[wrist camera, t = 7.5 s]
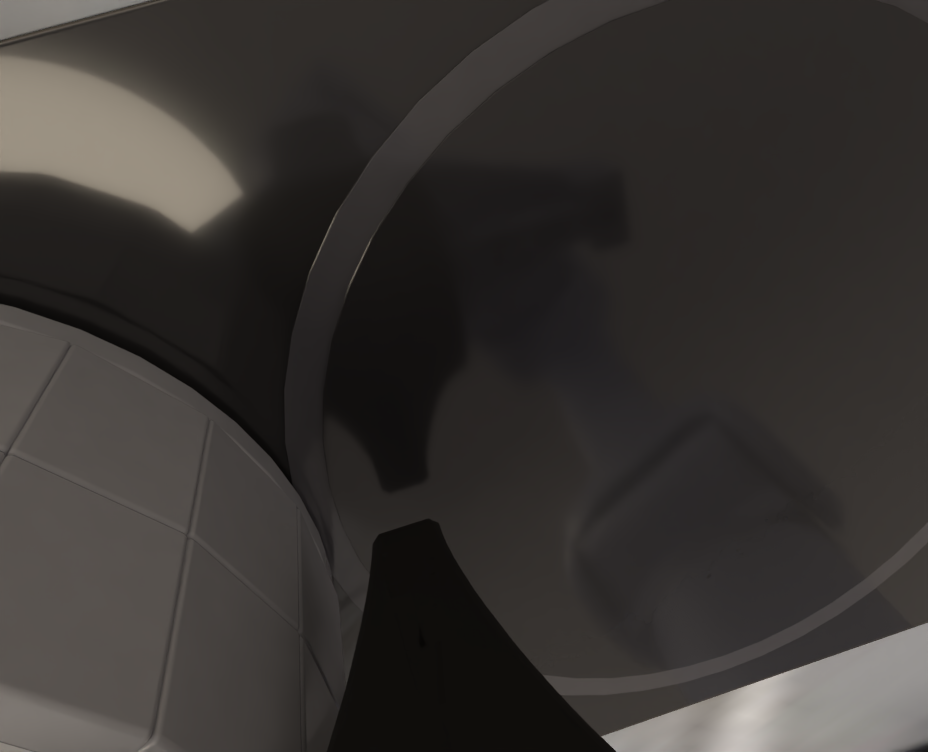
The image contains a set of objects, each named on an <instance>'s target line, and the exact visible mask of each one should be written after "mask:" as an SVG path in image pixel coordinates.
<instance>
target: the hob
mask: <svg viewBox="0 0 928 752" xmlns="http://www.w3.org/2000/svg"><path fill="white" fill-rule="evenodd" d="M0 304H4V305H8V306H12V307H16V308H19V309H22V310H25V311H28V312H31V313H34V314H37V315H40V316H43V317H46V318H49V319H52V320H55V321H57V322H60V323H63V324H66V325H69V326H72V327H75V328H78V329H81V330H83V331H85V332H88V333H90V334H92V335H94V336H96V337H98V338H101V339H103V340H105V341H107V342H109V343H111V344H114V345H116V346H118V347H120V348H122V349H124V350H127V351H129V352H131V353H133V354H135V355H137V356H140V357H141V358H143V359H145V360H146V361H148V362H150V363H151V364H153V365H155V366H156V367H158V368H160V369H161V370H163V371H165V372H166V373H168V374H170V375H171V376H173V377H175V378H176V379H178V380H180V381H181V382H183V383H185V384H186V385H188V386H190V387H191V388H193V389H194V390H195V391H196V392H198V393H199V394H200V395H202V396H203V397H204V398H205V399H207V400H208V401H209V402H211V403H212V404H213V405H214V406H216V407H217V408H218V409H220V410H221V411H222V412H223V413H225V414H226V415H227V416H229V417H230V418H231V419H232V420H234V421H235V422H236V423H237V424H238V425H239V426H240V427H241V428H242V429H243V430H244V431H245V432H246V433H247V434H248V435H249V436H250V437H251V438H252V439H253V440H254V441H255V442H256V443H257V444H258V445H259V446H260V447H261V448H262V449H263V450H264V451H265V452H266V453H267V454H268V455H269V456H270V457H271V458H272V460H273V461H274V462H275V464H276V465H277V466H278V468H279V469H280V470H281V472H282V473H283V474H284V476H285V477H286V478H287V480H288V481H289V482H290V484H291V485H292V486H293V488H294V489H295V490H296V492H297V493H298V494H299V496H300V498H301V500H302V502H303V504H304V505H305V507H306V509H307V511H308V513H309V515H310V517H311V519H312V521H313V522H314V524H315V526H316V528H317V530H318V532H319V535H320V538H321V541H322V544H323V547H324V550H325V553H326V556H327V559H328V562H329V565H330V568H331V573H332V580H333V586H334V588H335V591H336V593H337V595H338V601H339V610H340V622H341V634H342V646H343V658H344V670H345V682H346V685H347V681H348V677H349V673H350V669H351V665H352V660H353V656H354V652H355V648H356V644H357V639H358V635H359V631H360V627H361V622H362V616H363V611H364V606H365V601H366V595H367V589H368V583H369V576H370V568H371V560H372V545H373V542H374V541H375V539H376V538H377V536H378V535H379V534H381V533H384V532H387V531H390V530H393V529H396V528H400V527H403V526H406V525H409V524H412V523H415V522H418V521H422V520H425V519H428V518H429V519H431V520H433V521H436V522H438V523H439V524H440V528H441V531H442V534H443V536H444V538H445V540H446V542H447V545H448V547H449V549H450V550H451V552H452V554H453V556H454V558H455V560H456V561H457V563H458V565H459V566H460V568H461V570H462V571H463V573H464V574H465V576H466V577H467V579H468V580H469V582H470V584H471V585H472V587H473V588H474V590H475V591H476V592H477V594H478V595H479V597H480V598H481V599H482V601H483V602H484V604H485V605H486V606H487V608H488V609H489V610H490V612H491V613H492V614H493V615H494V617H495V618H496V619H497V621H498V622H499V623H500V624H501V626H502V627H503V628H504V630H505V631H506V632H507V634H508V635H509V636H510V637H511V639H512V640H513V641H514V642H515V644H516V645H517V646H518V647H519V648H520V650H521V651H522V652H523V653H524V654H525V656H526V657H527V658H528V659H529V660H530V662H531V663H532V664H533V665H534V666H535V667H536V668H537V669H538V671H539V672H540V673H541V674H542V675H543V676H544V677H545V678H546V680H547V681H548V682H549V683H550V684H551V685H552V686H553V687H554V689H555V690H556V691H557V692H558V693H559V694H560V695H561V696H562V697H563V698H564V699H565V700H566V702H567V703H568V704H569V705H570V706H571V707H572V708H573V709H574V710H575V711H576V712H577V713H578V714H579V715H580V716H581V717H582V718H583V719H584V720H585V721H586V722H587V723H588V724H589V725H590V727H591V728H592V729H594V730H595V731H596V732H597V733H598V734H599V735H600V736H604V735H606V734H609V733H612V732H615V731H618V730H621V729H624V728H626V727H629V726H632V725H635V724H638V723H641V722H644V721H647V720H649V719H652V718H655V717H658V716H661V715H664V714H667V713H670V712H672V711H675V710H678V709H681V708H684V707H687V706H690V705H692V704H695V703H698V702H701V701H704V700H707V699H710V698H713V697H715V696H718V695H721V694H724V693H727V692H730V691H733V690H736V689H738V688H741V687H744V686H747V685H750V684H753V683H756V682H758V681H761V680H764V679H767V678H770V677H773V676H776V675H779V674H781V673H784V672H787V671H790V670H793V669H796V668H799V667H802V666H804V665H807V664H810V663H813V662H816V661H819V660H822V659H824V658H827V657H830V656H833V655H836V654H839V653H842V652H845V651H847V650H850V649H853V648H856V647H859V646H862V645H865V644H868V643H870V642H873V641H876V640H879V639H882V638H885V637H888V636H890V635H893V634H896V633H899V632H902V631H905V630H908V629H911V628H913V627H916V626H919V625H922V624H925V623H928V0H152V1H148V2H145V3H141V4H137V5H133V6H129V7H126V8H122V9H118V10H114V11H111V12H107V13H103V14H99V15H96V16H92V17H88V18H84V19H81V20H77V21H73V22H69V23H65V24H62V25H58V26H54V27H50V28H47V29H43V30H39V31H35V32H32V33H28V34H24V35H20V36H17V37H13V38H9V39H5V40H1V41H0Z"/></svg>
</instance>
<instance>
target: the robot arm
mask: <svg viewBox="0 0 928 752" xmlns="http://www.w3.org/2000/svg"><path fill="white" fill-rule="evenodd" d="M327 752H616V751H615V750H614V749H613V748H612V747H611V746H610V745H609V744H608V743H607V742H606V741H605V740H604V739H603V738H602V737H601V736H600V735H599V734H598V733H597V732H596V731H595V730H594V729H592V728H591V727H590V725H589V724H588V723H587V722H586V721H585V720H584V719H583V718H582V717H581V716H580V715H579V714H578V713H577V712H576V711H575V710H574V709H573V708H572V707H571V706H570V705H569V704H568V703H567V702H566V700H565V699H564V698H563V697H562V696H561V695H560V694H559V693H558V692H557V691H556V690H555V689H554V687H553V686H552V685H551V684H550V683H549V682H548V681H547V680H546V678H545V677H544V676H543V675H542V674H541V673H540V672H539V671H538V669H537V668H536V667H535V666H534V665H533V664H532V663H531V662H530V660H529V659H528V658H527V657H526V656H525V654H524V653H523V652H522V651H521V650H520V648H519V647H518V646H517V645H516V644H515V642H514V641H513V640H512V639H511V637H510V636H509V635H508V634H507V632H506V631H505V630H504V628H503V627H502V626H501V624H500V623H499V622H498V621H497V619H496V618H495V617H494V615H493V614H492V613H491V612H490V610H489V609H488V608H487V606H486V605H485V604H484V602H483V601H482V599H481V598H480V597H479V595H478V594H477V592H476V591H475V590H474V588H473V587H472V585H471V584H470V582H469V580H468V579H467V577H466V576H465V574H464V573H463V571H462V570H461V568H460V566H459V565H458V563H457V561H456V560H455V558H454V556H453V554H452V552H451V550H450V549H449V547H448V545H447V542H446V540H445V538H444V536H443V534H442V531H441V528H440V524H439V523H438V522H436V521H433V520H431V519H429V518H428V519H425V520H422V521H418V522H415V523H412V524H409V525H406V526H403V527H400V528H396V529H393V530H390V531H387V532H384V533H381V534H379V535H378V536H377V538H376V539H375V541H374V542H373V545H372V560H371V568H370V576H369V583H368V589H367V595H366V601H365V606H364V611H363V616H362V622H361V627H360V631H359V635H358V639H357V644H356V648H355V652H354V656H353V660H352V665H351V669H350V673H349V677H348V681H347V685H346V689H345V692H344V696H343V699H342V703H341V706H340V709H339V713H338V716H337V719H336V723H335V726H334V729H333V732H332V736H331V739H330V742H329V746H328V749H327Z"/></svg>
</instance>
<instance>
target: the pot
mask: <svg viewBox="0 0 928 752" xmlns="http://www.w3.org/2000/svg"><path fill="white" fill-rule="evenodd" d="M345 689H346V682H345V670H344V658H343V646H342V634H341V622H340V610H339V601H338V595H337V593H336V591H335V588H334V586H333V580H332V573H331V568H330V565H329V562H328V559H327V556H326V553H325V550H324V547H323V544H322V541H321V538H320V535H319V532H318V530H317V528H316V526H315V524H314V522H313V521H312V519H311V517H310V515H309V513H308V511H307V509H306V507H305V505H304V504H303V502H302V500H301V498H300V496H299V494H298V493H297V492H296V490H295V489H294V488H293V486H292V485H291V484H290V482H289V481H288V480H287V478H286V477H285V476H284V474H283V473H282V472H281V470H280V469H279V468H278V466H277V465H276V464H275V462H274V461H273V460H272V458H271V457H270V456H269V455H268V454H267V453H266V452H265V451H264V450H263V449H262V448H261V447H260V446H259V445H258V444H257V443H256V442H255V441H254V440H253V439H252V438H251V437H250V436H249V435H248V434H247V433H246V432H245V431H244V430H243V429H242V428H241V427H240V426H239V425H238V424H237V423H236V422H235V421H234V420H232V419H231V418H230V417H229V416H227V415H226V414H225V413H223V412H222V411H221V410H220V409H218V408H217V407H216V406H214V405H213V404H212V403H211V402H209V401H208V400H207V399H205V398H204V397H203V396H202V395H200V394H199V393H198V392H196V391H195V390H194V389H193V388H191V387H190V386H188V385H186V384H185V383H183V382H181V381H180V380H178V379H176V378H175V377H173V376H171V375H170V374H168V373H166V372H165V371H163V370H161V369H160V368H158V367H156V366H155V365H153V364H151V363H150V362H148V361H146V360H145V359H143V358H141V357H140V356H137V355H135V354H133V353H131V352H129V351H127V350H124V349H122V348H120V347H118V346H116V345H114V344H111V343H109V342H107V341H105V340H103V339H101V338H98V337H96V336H94V335H92V334H90V333H88V332H85V331H83V330H81V329H78V328H75V327H72V326H69V325H66V324H63V323H60V322H57V321H55V320H52V319H49V318H46V317H43V316H40V315H37V314H34V313H31V312H28V311H25V310H22V309H19V308H16V307H12V306H8V305H4V304H0V752H327V749H328V746H329V742H330V739H331V736H332V732H333V729H334V726H335V723H336V719H337V716H338V713H339V709H340V706H341V703H342V699H343V696H344V692H345Z"/></svg>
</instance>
